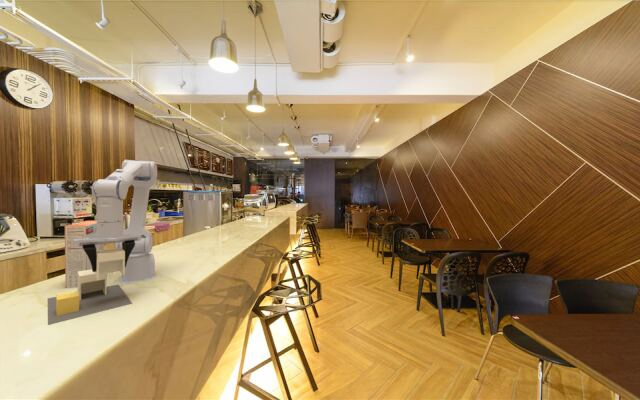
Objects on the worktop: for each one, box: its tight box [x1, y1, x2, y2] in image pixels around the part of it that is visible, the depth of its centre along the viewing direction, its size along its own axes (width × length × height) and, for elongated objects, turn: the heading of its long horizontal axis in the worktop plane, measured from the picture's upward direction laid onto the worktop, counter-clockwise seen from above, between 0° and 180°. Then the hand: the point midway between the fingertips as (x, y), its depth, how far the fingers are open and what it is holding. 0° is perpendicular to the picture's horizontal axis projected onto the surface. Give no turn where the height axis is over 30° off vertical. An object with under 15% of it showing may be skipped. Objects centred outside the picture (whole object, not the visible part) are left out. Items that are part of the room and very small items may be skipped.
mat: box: [47, 284, 133, 326], centre depth 70 cm, size 16×20×1 cm
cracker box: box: [64, 220, 105, 289], centre depth 85 cm, size 14×6×21 cm, turn 23°
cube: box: [55, 290, 79, 316], centre depth 64 cm, size 4×4×4 cm
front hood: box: [94, 247, 125, 280], centre depth 70 cm, size 6×6×7 cm
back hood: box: [77, 269, 108, 301], centre depth 74 cm, size 6×6×7 cm
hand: (109, 268), depth 70 cm, fingers closed on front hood, 6 cm apart
